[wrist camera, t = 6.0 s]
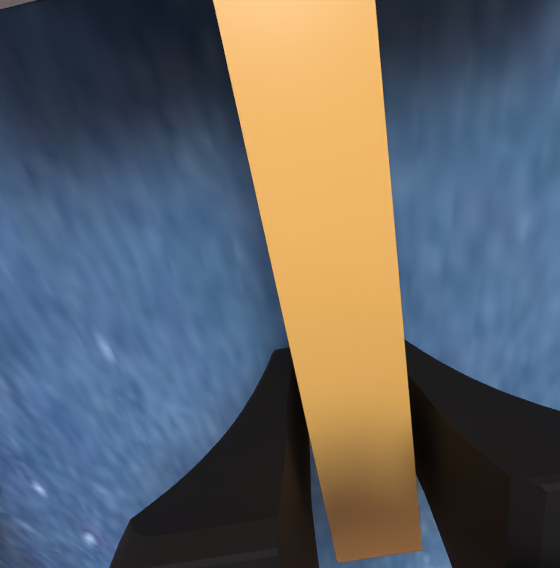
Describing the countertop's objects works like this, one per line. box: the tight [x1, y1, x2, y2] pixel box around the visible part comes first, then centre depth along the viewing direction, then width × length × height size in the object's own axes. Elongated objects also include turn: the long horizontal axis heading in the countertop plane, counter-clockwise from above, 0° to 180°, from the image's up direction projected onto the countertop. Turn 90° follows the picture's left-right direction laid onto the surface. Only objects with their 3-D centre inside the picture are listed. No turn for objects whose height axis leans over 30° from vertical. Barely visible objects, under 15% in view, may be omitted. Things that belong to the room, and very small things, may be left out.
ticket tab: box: [213, 0, 422, 563], centre depth 8 cm, size 14×2×5 cm, turn 11°
